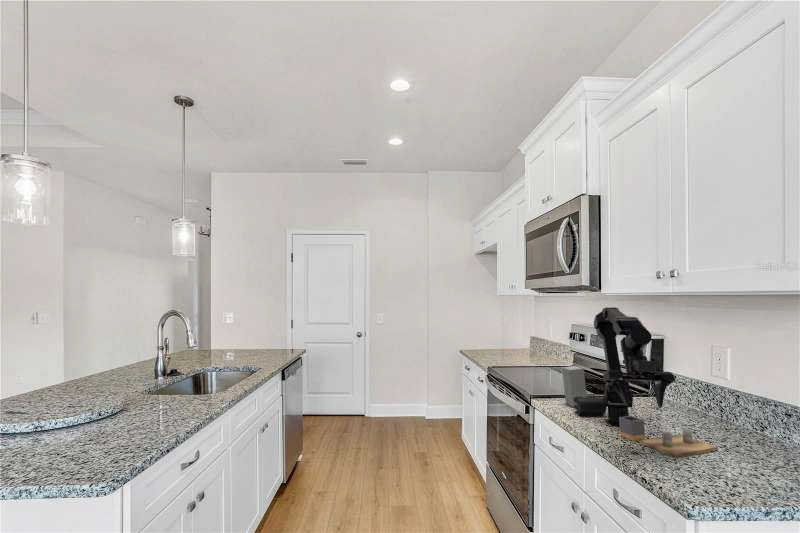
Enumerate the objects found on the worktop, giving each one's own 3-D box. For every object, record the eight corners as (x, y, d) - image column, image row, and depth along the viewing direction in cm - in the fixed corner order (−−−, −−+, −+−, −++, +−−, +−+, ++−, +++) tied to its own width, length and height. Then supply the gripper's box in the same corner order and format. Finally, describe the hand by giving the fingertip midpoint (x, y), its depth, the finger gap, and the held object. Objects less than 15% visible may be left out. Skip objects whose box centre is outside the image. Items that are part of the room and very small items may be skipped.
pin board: (640, 443, 127) (639, 428, 127) (679, 437, 131) (678, 423, 132) (675, 457, 115) (674, 441, 116) (717, 450, 120) (716, 435, 120)
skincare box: (588, 407, 167) (586, 368, 168) (571, 408, 167) (569, 369, 168) (580, 402, 175) (577, 365, 176) (563, 402, 175) (561, 365, 177)
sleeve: (620, 435, 134) (619, 417, 134) (632, 434, 135) (631, 415, 136) (632, 440, 129) (631, 421, 130) (645, 439, 131) (643, 419, 131)
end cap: (580, 418, 154) (579, 399, 155) (573, 412, 161) (572, 395, 162) (607, 417, 154) (606, 399, 154) (598, 412, 161) (597, 394, 162)
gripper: (611, 345, 122) (620, 399, 115) (677, 348, 120) (692, 403, 112) (599, 356, 132) (607, 406, 124) (660, 359, 129) (672, 410, 122)
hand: (644, 406), depth 120 cm, fingers open, 9 cm apart
